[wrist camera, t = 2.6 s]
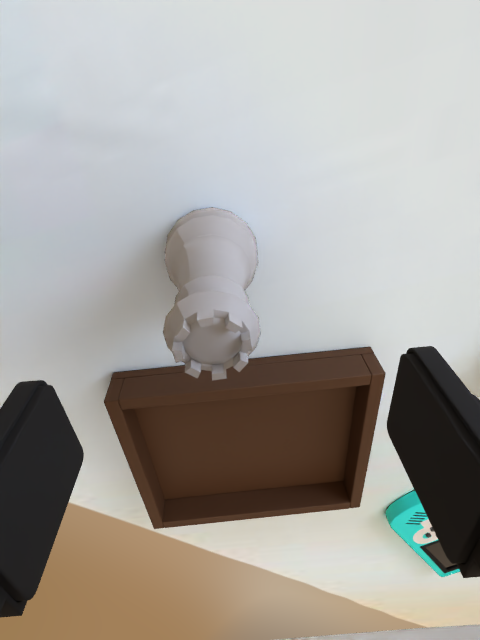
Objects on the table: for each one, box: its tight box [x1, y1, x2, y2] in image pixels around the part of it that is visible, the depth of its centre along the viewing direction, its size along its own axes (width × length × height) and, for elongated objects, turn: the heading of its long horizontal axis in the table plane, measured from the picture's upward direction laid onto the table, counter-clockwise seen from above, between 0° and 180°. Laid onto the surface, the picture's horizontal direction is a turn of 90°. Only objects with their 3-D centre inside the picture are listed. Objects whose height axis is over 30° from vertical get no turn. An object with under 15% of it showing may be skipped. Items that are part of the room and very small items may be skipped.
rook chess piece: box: [163, 207, 261, 381], centre depth 15 cm, size 4×4×8 cm
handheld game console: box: [386, 491, 460, 577], centre depth 35 cm, size 10×16×1 cm, turn 36°
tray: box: [104, 347, 385, 529], centre depth 25 cm, size 16×14×2 cm
